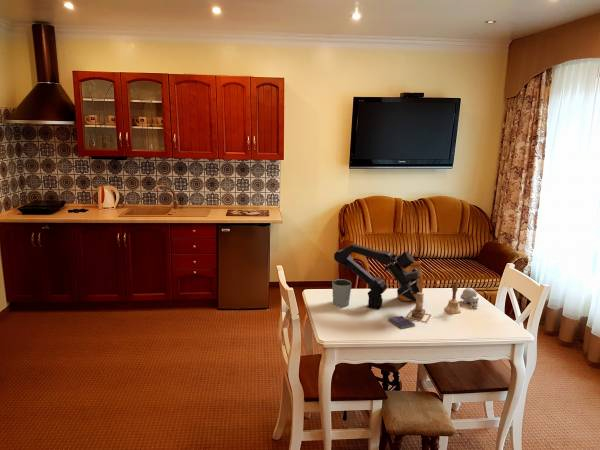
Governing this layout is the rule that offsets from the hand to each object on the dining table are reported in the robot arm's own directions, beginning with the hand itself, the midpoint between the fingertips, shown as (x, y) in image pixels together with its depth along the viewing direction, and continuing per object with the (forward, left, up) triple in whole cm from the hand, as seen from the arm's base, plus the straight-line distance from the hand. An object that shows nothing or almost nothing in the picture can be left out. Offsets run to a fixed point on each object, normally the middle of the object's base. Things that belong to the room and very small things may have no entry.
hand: (418, 298), depth 221 cm
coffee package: (-7, +21, -10) cm, 24 cm away
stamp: (+1, 0, -9) cm, 9 cm away
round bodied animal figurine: (+24, +30, -10) cm, 40 cm away
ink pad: (-5, -12, -9) cm, 16 cm away
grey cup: (-39, -3, -10) cm, 40 cm away
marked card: (+1, 0, -9) cm, 9 cm away
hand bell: (+16, +16, -10) cm, 25 cm away
